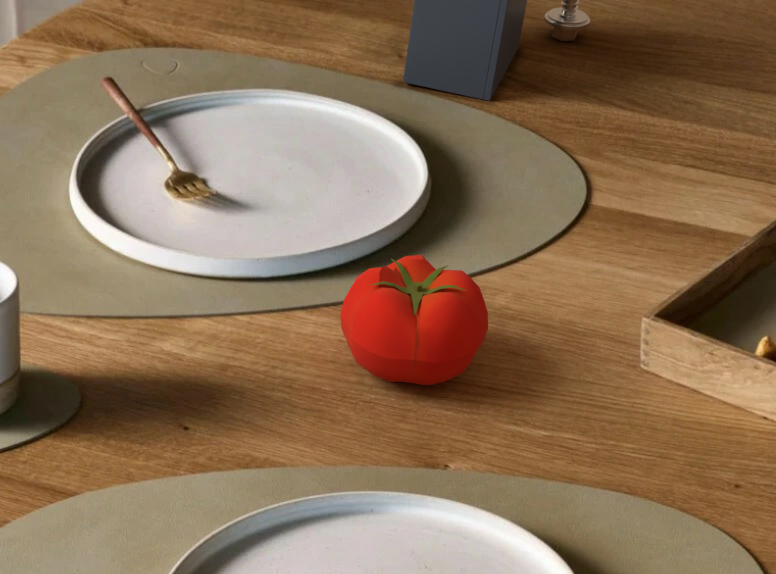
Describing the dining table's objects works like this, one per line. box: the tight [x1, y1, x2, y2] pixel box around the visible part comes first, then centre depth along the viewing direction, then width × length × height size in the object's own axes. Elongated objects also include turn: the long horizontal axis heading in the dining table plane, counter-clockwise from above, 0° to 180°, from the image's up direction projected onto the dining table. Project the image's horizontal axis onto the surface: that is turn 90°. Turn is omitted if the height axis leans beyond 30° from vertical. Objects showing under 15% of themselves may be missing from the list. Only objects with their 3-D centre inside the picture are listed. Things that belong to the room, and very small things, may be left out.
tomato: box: [339, 254, 489, 386], centre depth 113 cm, size 11×11×8 cm
